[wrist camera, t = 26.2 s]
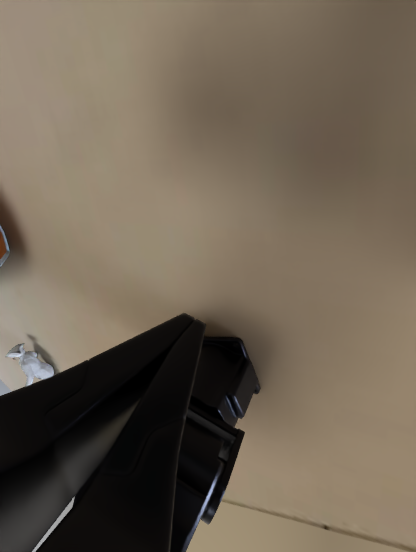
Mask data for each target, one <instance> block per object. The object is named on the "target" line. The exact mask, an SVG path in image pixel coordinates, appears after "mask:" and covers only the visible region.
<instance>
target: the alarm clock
mask: <svg viewBox="0 0 416 552" xmlns="http://www.w3.org/2000/svg"><path fill="white" fill-rule="evenodd" d="M9 253H10V250H9V246H8V243H7V240H6V236H5V233H4V231H3V229H2V228H1V226H0V267H1V266H2V264H3V263H4V262H5V260H6V259H7V258H8V256H9Z"/></svg>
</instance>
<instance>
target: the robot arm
mask: <svg viewBox="0 0 416 552" xmlns="http://www.w3.org/2000/svg"><path fill="white" fill-rule="evenodd" d="M205 329H206V324H205V323H203V322H202V321H200V320H198V319H194V317H192V316H190V315H188V314H186V313H183V314H181V315H179V316H177V317H174V318H172V319H170V320H168V321H166V322H164V323H162V324H160V325H158V326H156V327H154V328H152V329H150V330H148V331H146V332H144V333H142V334H140V335H138V336H136V337H134V338H132V339H129V340H127V341H125V342H123V343H121V344H119V345H117V346H115V347H113V348H111V349H109V350H107V351H105V352H103V353H101V354H99V355H97V356H95V357H93V358H91V359H89V361H88V360H86V361H84V362H82V363H80V364H78V365H76V366H74V367H72V368H70V369H67V370H65V371H63V372H61V373H59V374H56V375H54V376H51V377H49V378H46V379H44V380H41V381H39V382H36V383H33V384H31V385H28V386H26V387H23V388H20V389H18V390H15V391H12V392H10V393H7V394H4V395H2V396H0V552H32V551H33V549H34V548H35V547H36V545H37V544H38V543H39V541H40V540H41V539H42V538H43V536H44V535H45V534H46V532H47V531H48V530H49V529H50V527H51V526H52V525H53V523H54V522H55V521H56V520H57V518H58V517H59V516H60V514H61V513H62V512H63V510H64V509H65V508H66V507H67V505H68V504H69V503H70V502H71V500H72V498H73V497H74V496H75V499H74V503H73V507H72V509H71V510H70V511H69V512H68V513H67V515H66V516H65V517H64V518H63V519H62V521H61V522H60V523H59V524H58V525H57V527H56V528H55V529H54V530H53V531H52V533H51V534H50V535H49V536H48V537H47V539H46V540H45V541H44V542H43V543H42V545H41V546H40V547H39V548H38V549H37V551H36V552H186V550H187V548H188V545H189V543H190V541H191V539H192V536H193V534H194V532H195V530H196V528H197V525H198V523H199V521H200V519H201V520H202V521H204V522H205V523H207V524H210V522H211V521H212V519H213V517H214V515H215V513H216V511H217V509H218V506H219V504H220V502H221V499H222V497H223V495H224V492H225V490H226V487H227V485H228V482H229V479H230V476H231V473H232V470H233V467H234V464H235V461H236V458H237V455H238V452H239V449H240V446H241V443H242V440H243V437H244V434H245V432H244V431H242V430H240V429H236V428H235V425H236V422H237V420H238V418H240V419H242V418H243V417H244V415H245V413H246V410H247V408H248V405H249V403H250V400H251V398H252V395H253V393H254V394H258V393H259V391H260V389H261V388H260V385H259V382H258V378H257V376H256V373H255V370H254V368H253V365H252V363H251V361H250V359H249V357H248V354H247V351H246V349H245V346H244V344H243V341H242V340H241V339H239V338H236V337H204V333H205Z"/></svg>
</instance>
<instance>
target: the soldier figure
mask: <svg viewBox="0 0 416 552" xmlns="http://www.w3.org/2000/svg"><path fill="white" fill-rule="evenodd" d="M23 345H24V343H23V344H18V345H16V346H15V347H13V348H12V349H11V350H10V351H9V352H8V354H7V355H6V357H14V358H13V359H15V357H20V358H19V359H20V361H19V365H20V364H21V369H22V370H23V371H24V373H25V374H26V376H27V382H26V386H28V385H31V384H32V382H33V379H34V377H37V378H38V379H43V380H44V379H46V378H49V377H51V376H53V375H54V371H53V368H52V366H51V365H49V364H47V363H44V362H41V361H39V359H37V358H36V357H37V353H36V352H32V351H28V352H25V350H24V349H23ZM26 386H25V387H26Z"/></svg>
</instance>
